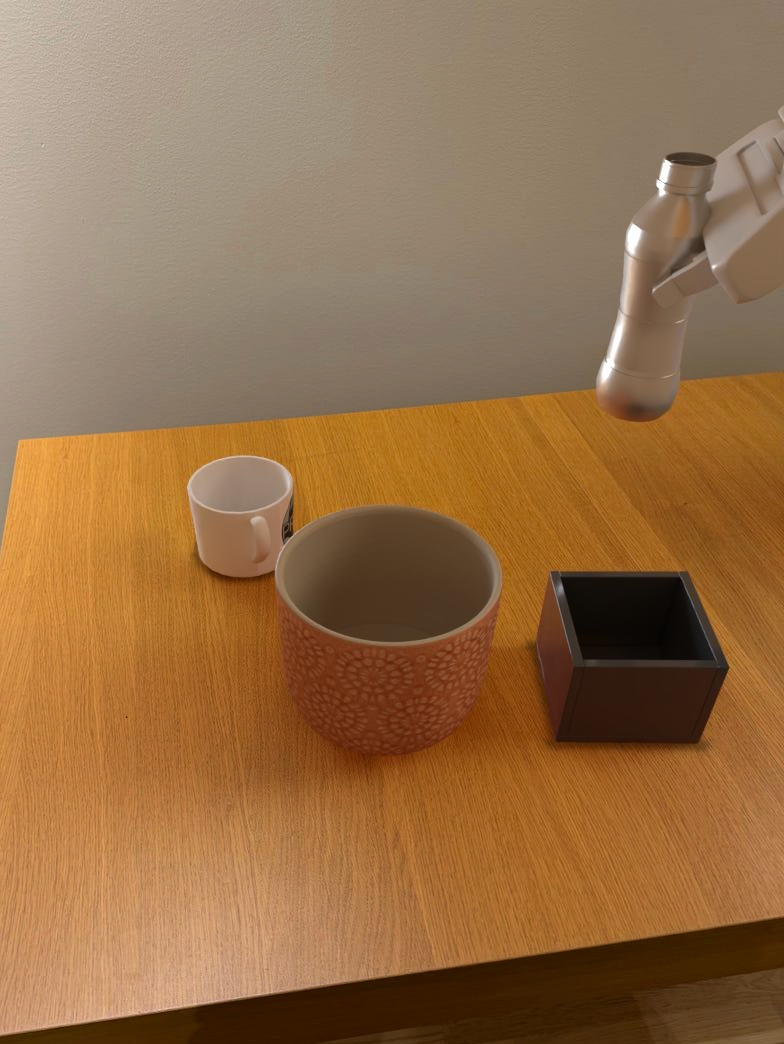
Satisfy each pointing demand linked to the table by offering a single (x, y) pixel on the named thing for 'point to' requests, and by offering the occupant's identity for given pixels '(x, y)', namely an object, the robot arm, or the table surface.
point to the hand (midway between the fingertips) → (653, 280)
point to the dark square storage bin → (627, 657)
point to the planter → (386, 625)
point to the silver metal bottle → (642, 325)
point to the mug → (241, 514)
